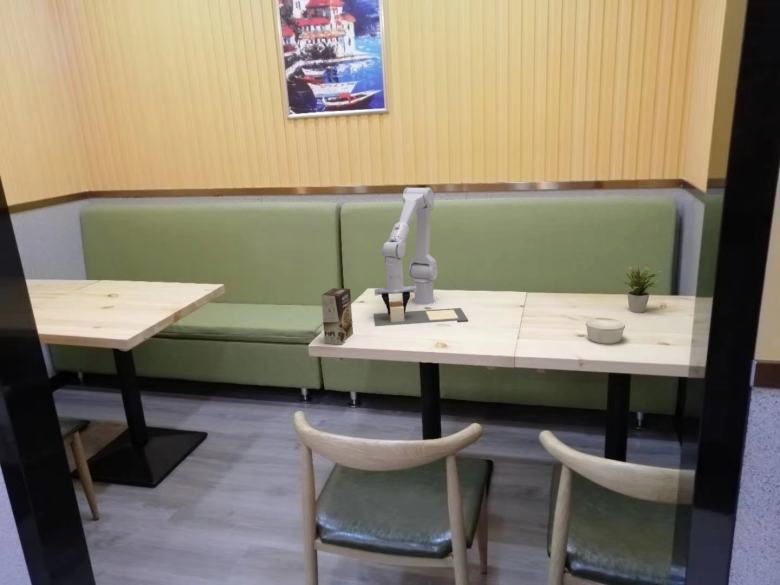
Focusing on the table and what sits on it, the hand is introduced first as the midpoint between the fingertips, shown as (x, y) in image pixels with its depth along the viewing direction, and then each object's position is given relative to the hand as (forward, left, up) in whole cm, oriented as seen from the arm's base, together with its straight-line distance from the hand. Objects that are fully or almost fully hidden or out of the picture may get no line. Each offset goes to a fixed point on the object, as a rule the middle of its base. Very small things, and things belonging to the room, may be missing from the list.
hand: (396, 313), depth 205 cm
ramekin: (+32, +61, -3) cm, 69 cm away
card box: (0, 0, -2) cm, 2 cm away
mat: (0, +8, -2) cm, 8 cm away
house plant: (+9, +83, -3) cm, 84 cm away
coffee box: (+16, -20, -3) cm, 26 cm away
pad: (0, +16, -2) cm, 16 cm away
